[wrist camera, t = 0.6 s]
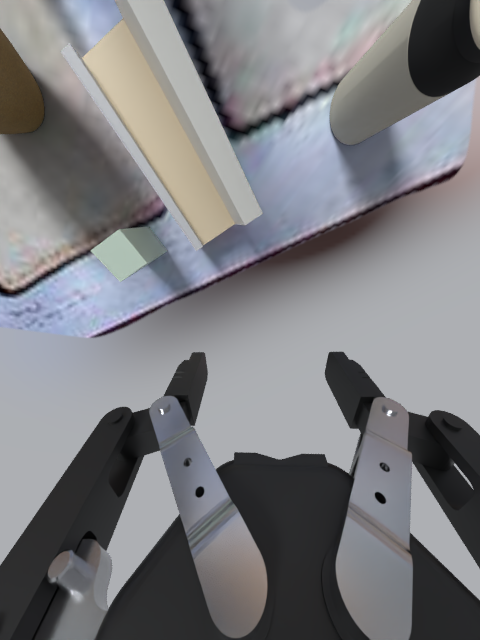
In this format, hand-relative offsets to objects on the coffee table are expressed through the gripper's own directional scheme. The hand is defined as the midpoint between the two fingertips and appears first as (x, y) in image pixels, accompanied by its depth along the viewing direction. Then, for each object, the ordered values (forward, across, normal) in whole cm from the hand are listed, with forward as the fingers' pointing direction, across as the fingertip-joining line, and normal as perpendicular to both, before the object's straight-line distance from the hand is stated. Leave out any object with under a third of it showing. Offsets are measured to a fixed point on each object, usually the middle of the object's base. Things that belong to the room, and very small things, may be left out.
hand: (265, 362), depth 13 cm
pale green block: (+25, +18, -5) cm, 31 cm away
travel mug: (+29, -15, -22) cm, 40 cm away
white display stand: (+25, +11, -17) cm, 32 cm away
